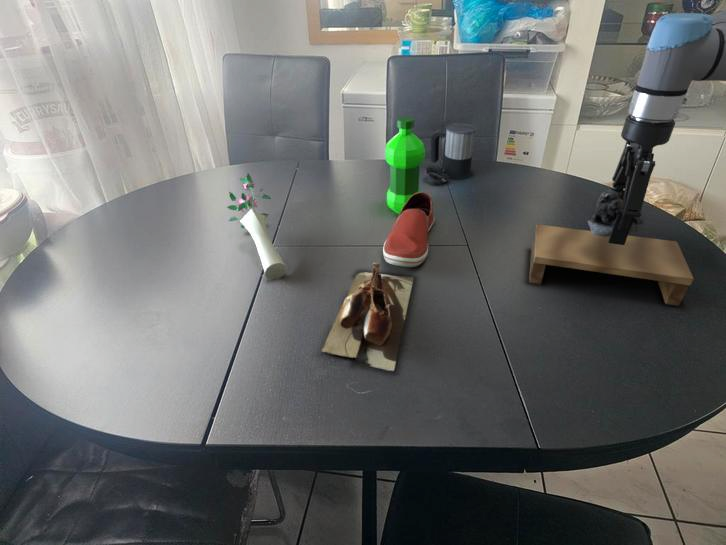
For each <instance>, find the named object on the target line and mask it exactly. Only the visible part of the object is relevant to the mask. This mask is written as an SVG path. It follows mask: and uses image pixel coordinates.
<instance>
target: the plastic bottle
mask: <svg viewBox="0 0 726 545" xmlns="http://www.w3.org/2000/svg"><path fill="white" fill-rule="evenodd" d="M396 128H397V129H399V130H398V133H397V134H396V135H395V134H394V136H393V137H392V138H390V140H388V141H387V142H386V145H385V148H384V150H385V151H384V152H385V155H384V156H385V161H386V163H387V164H388V165H389V188H388V189H387V192H386V205H387V207H388V208H389V209H391V210H392V211H394V212H395V213H396V214H398V215H400V213H401V210H402V208H403V206H404V205H405V204H406V202H407V201H408V199H409V198H410V197H411V196H412V195H414V194H416V193H419V192H421V190H420V188H419V187H420V166H421V164H422V163H424V161H425V158H426V149H425V144H424V142H423V140H421V139H420V138H419V137H418V136H417V135H416V134H414V133H413V132H412V130H413V128H415V118H414V117H411V116H401V117H398V118H397V119H396Z"/></svg>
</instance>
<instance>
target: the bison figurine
mask: <svg viewBox="0 0 726 545" xmlns="http://www.w3.org/2000/svg"><path fill="white" fill-rule="evenodd" d="M620 195H622V193H621V192H620V193H617V192H616V191H614V190H612V189H608V190H605V191H603V192H602V193H601V194H600V195H599V198H598V199H597V202H596V205H595V213H594V214H592V216H591V218H590V219H588V220H587V224H588V226H589V229H590V231H591V232H592V233H593V234H595V235H598V236H610V235H611V232H612V229H613V226H614V223H615V220H616V217H617V214H616V211H620V210H621V206H622V201H623V200H621V199H620V198H619V197H620ZM642 214H643V213H642V211H641V212H640V216H639V217H634V220H633V222H632V225H631V228H630V231H629V233H636V232H637V231H638V232H639V231H640V230H642V229H643V228H645V227H646V223H645V220H644V219H643V215H642Z"/></svg>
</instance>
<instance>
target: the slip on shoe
mask: <svg viewBox="0 0 726 545" xmlns="http://www.w3.org/2000/svg"><path fill="white" fill-rule="evenodd" d="M434 222H435V214H434V204H433V197H432V196H431V195H430V194H429V193H427V192H423V191H420V192H419V193H416V194H414V195H412V196H411V197H410V198H409V199H408V201H407V202H406V204H405V205H404V206H403V208H402V210H401V213H400V214H398V217H397V219H396V221H395V222H394V224H393V226H392V228H391V229H390V231H389V234H388V236H387V238H386V240H385V241H384V244H383V247H382V255H383V259H384V260H385V262H386V263H388V264H390V265H393V266H397V267H402V268H403V267H405V268H414V267H417V266H418V267H419V266H420V265H421V264H422V263H423V262H425V260H426V259H427V257H428V255H429V243H428V241H429V232H430V230H431V229H432V226H433V225H434Z"/></svg>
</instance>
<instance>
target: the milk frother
mask: <svg viewBox="0 0 726 545" xmlns="http://www.w3.org/2000/svg"><path fill="white" fill-rule="evenodd" d="M476 132H477V127H476V126H475V125H473V124H470V123H469V124H468V123H462V122H461V123H451V124H448V125H446V126H445V128H439V129H437V130H436V131H434V132H433V133H432V135H431V138H430V162H431V163H432V164H433V163H435V164H436V163H437V162H438V161H439V157H440V156H439V155H440V154H439V153H440V137H441V138H444V143H443V144H444V145H443V155H442V157H443V158H442V170H438V169H436V168H432V167H427V168H425V170H424V173H425V175H426V177H427V179H429V180H430V181H432V182H433V183H436V185H444V184H446V183H448V179H449V178H450V179H465V178H469V177H470V176H471V175H472V171H471V170H472V158H473V151H474V144H475V136H476Z"/></svg>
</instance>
